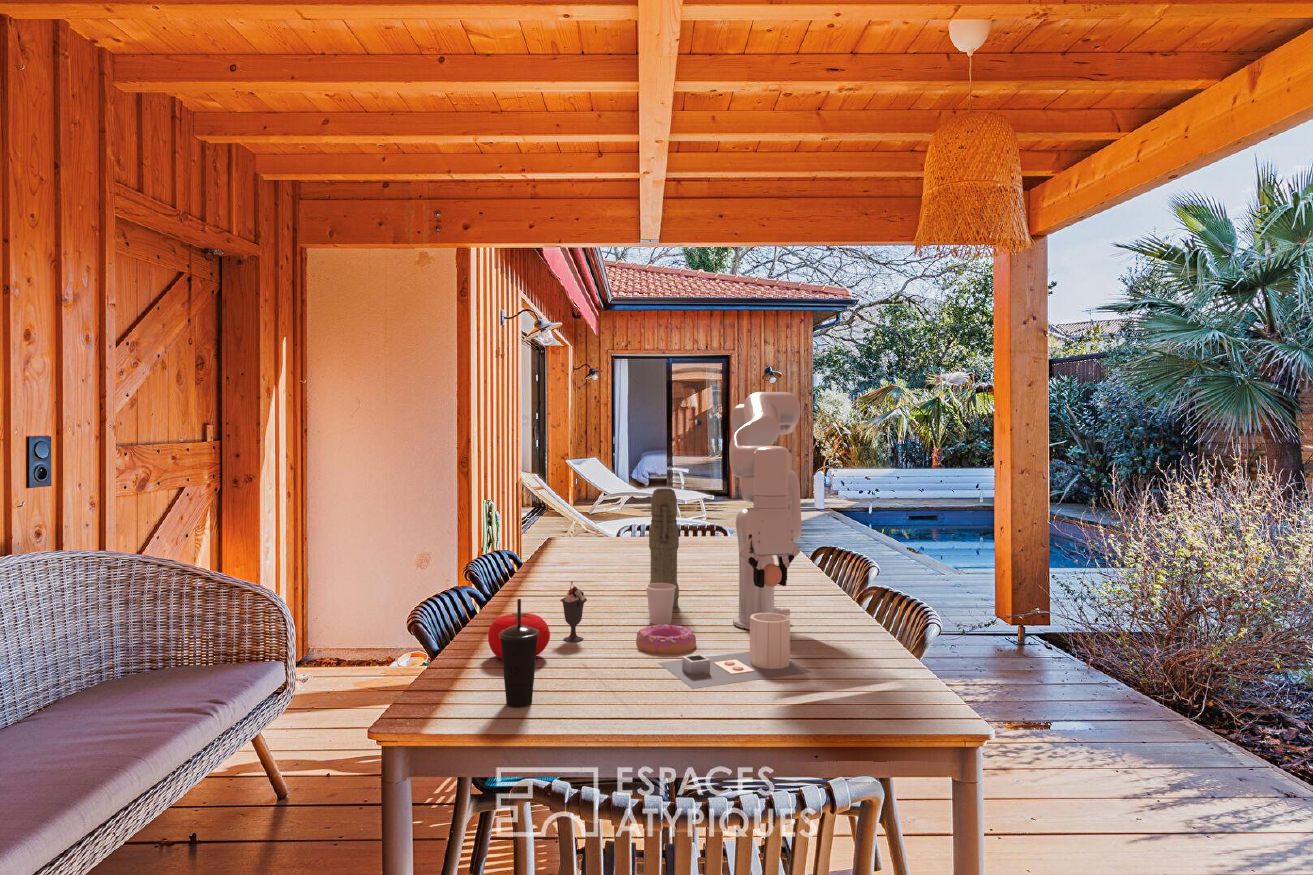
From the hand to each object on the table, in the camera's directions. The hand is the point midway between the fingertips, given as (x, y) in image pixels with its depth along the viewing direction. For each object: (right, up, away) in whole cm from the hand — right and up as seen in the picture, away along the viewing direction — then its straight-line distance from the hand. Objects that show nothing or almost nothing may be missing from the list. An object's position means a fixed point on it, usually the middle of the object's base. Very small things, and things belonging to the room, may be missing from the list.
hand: (770, 584), depth 169 cm
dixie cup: (-24, -18, +40) cm, 50 cm away
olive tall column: (-23, -18, +59) cm, 66 cm away
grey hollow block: (-17, -17, -6) cm, 25 cm away
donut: (-23, -19, +14) cm, 33 cm away
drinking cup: (-51, -19, -22) cm, 59 cm away
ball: (0, +2, 0) cm, 2 cm away
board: (-8, -18, -3) cm, 21 cm away
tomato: (-57, -18, +7) cm, 60 cm away
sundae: (-46, -18, +23) cm, 54 cm away
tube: (0, -17, 0) cm, 17 cm away
